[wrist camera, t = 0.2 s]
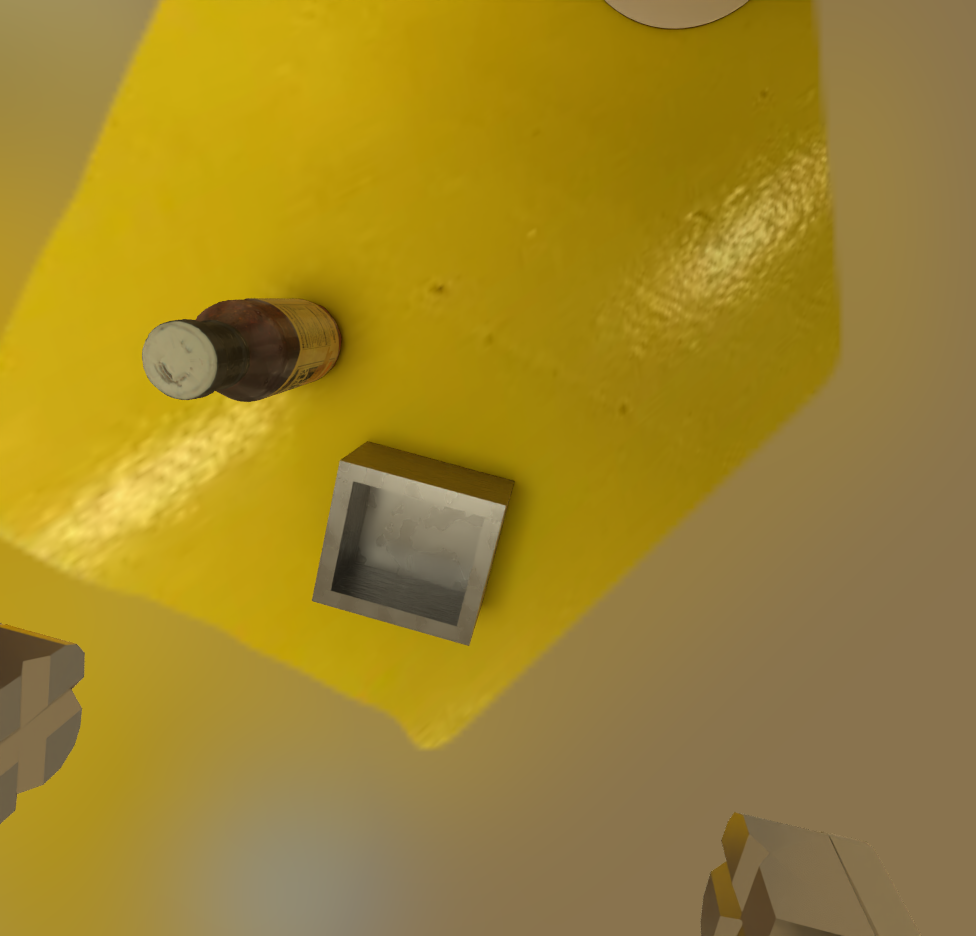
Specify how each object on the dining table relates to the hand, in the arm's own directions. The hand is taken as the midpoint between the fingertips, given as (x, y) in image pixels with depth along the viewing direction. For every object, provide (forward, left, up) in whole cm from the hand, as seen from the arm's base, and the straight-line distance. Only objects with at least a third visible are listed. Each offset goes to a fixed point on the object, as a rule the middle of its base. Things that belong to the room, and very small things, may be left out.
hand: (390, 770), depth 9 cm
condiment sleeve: (+14, -6, -47) cm, 50 cm away
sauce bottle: (+2, -18, -48) cm, 51 cm away
